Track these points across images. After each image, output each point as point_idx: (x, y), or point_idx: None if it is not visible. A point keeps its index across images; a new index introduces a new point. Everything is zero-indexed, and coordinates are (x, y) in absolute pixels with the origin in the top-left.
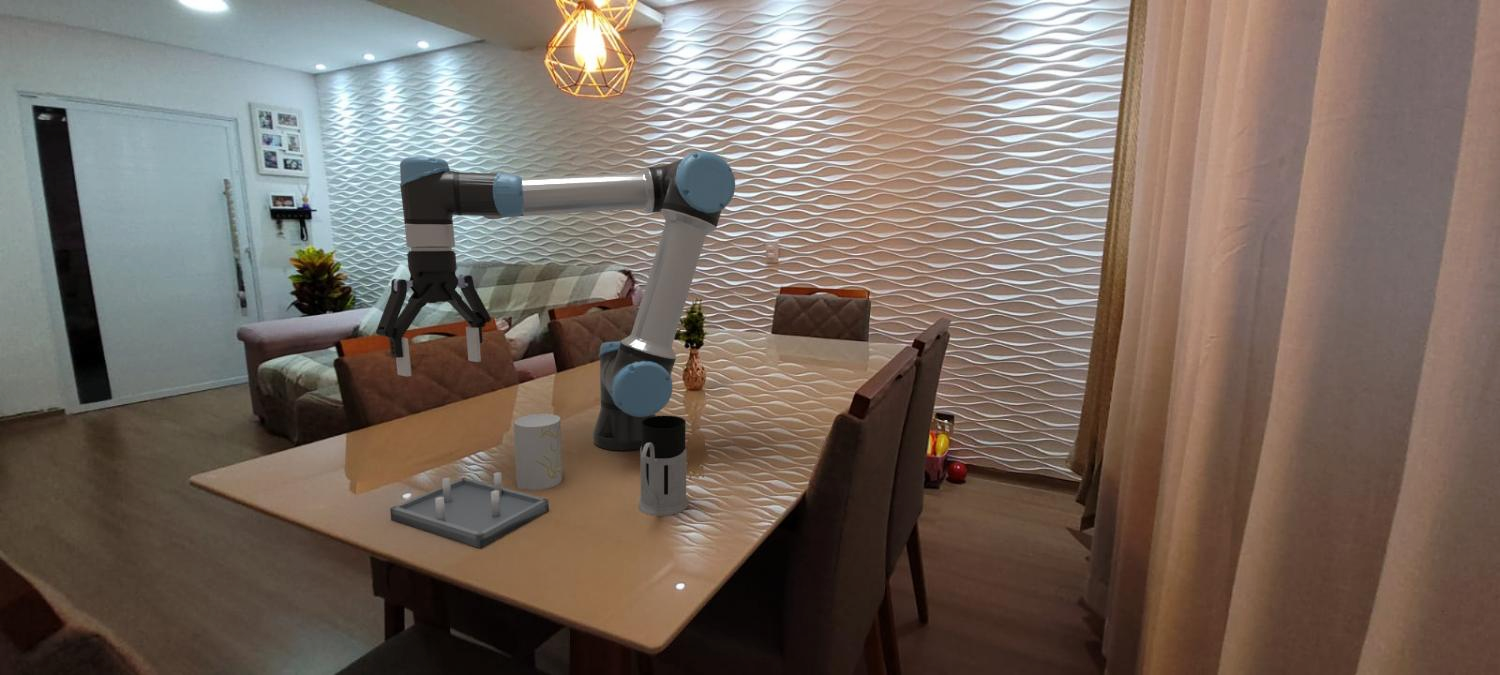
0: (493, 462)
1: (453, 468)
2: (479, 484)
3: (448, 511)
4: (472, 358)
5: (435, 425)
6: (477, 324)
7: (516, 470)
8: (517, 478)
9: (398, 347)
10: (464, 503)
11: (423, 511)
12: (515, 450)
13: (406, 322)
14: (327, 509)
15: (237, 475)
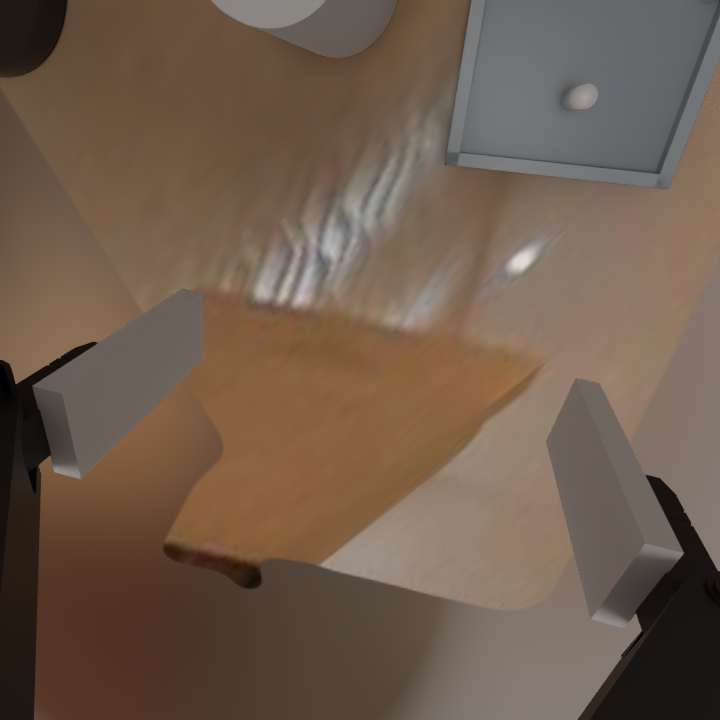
0: (291, 219)
1: (358, 281)
2: (471, 82)
3: (636, 34)
4: (195, 336)
5: (200, 480)
6: (14, 406)
7: (377, 20)
8: (386, 15)
9: (673, 525)
10: (576, 34)
11: (644, 108)
12: (363, 9)
13: (693, 692)
14: (624, 357)
15: (518, 586)
